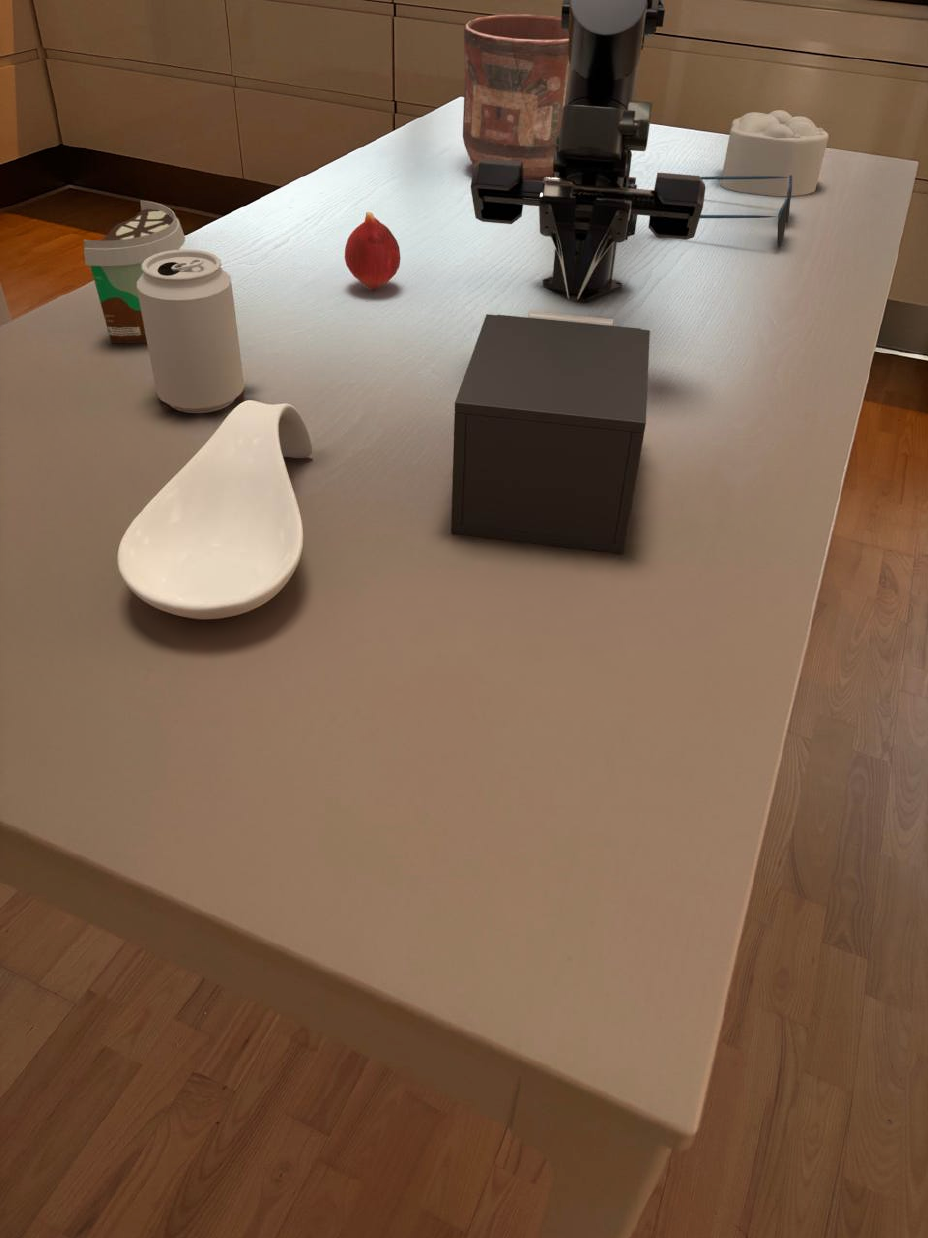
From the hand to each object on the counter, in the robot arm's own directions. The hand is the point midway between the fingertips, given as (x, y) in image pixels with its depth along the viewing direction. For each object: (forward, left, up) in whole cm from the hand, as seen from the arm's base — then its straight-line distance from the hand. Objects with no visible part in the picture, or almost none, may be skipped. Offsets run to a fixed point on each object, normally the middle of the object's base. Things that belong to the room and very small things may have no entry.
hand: (573, 297), depth 81 cm
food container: (+18, -37, -10) cm, 42 cm away
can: (+23, -22, -10) cm, 33 cm away
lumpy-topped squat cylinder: (-71, -25, -10) cm, 76 cm away
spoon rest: (+32, -2, -10) cm, 34 cm away
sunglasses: (-52, -19, -10) cm, 56 cm away
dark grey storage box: (+11, +8, -10) cm, 17 cm away
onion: (-4, -31, -10) cm, 33 cm away
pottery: (-47, -50, -10) cm, 69 cm away
